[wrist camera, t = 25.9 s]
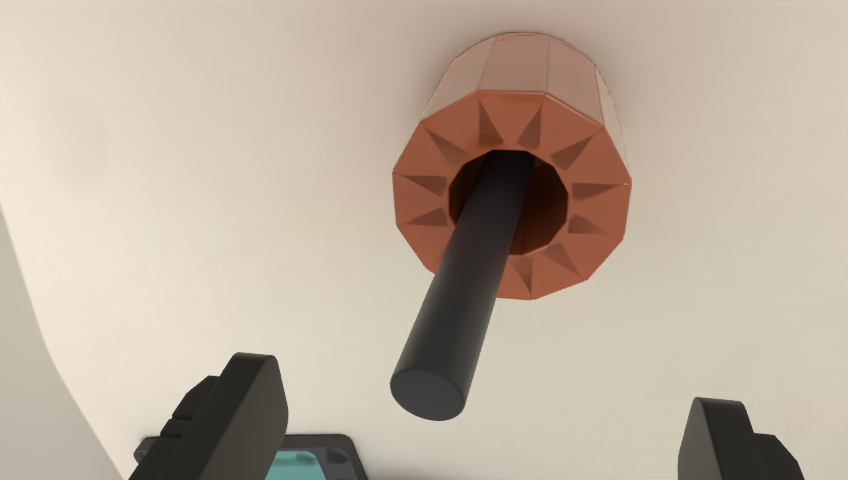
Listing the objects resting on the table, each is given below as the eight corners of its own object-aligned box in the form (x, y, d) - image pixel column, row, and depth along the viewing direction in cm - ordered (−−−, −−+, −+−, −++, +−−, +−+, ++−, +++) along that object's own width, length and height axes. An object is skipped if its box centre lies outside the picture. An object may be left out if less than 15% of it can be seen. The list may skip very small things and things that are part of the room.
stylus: (498, 108, 24) (385, 362, 14) (544, 111, 24) (463, 376, 13) (497, 149, 25) (392, 414, 15) (542, 153, 25) (465, 428, 14)
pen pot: (427, 31, 24) (384, 89, 18) (623, 31, 22) (646, 93, 17) (434, 198, 27) (400, 291, 22) (601, 206, 26) (614, 307, 20)
